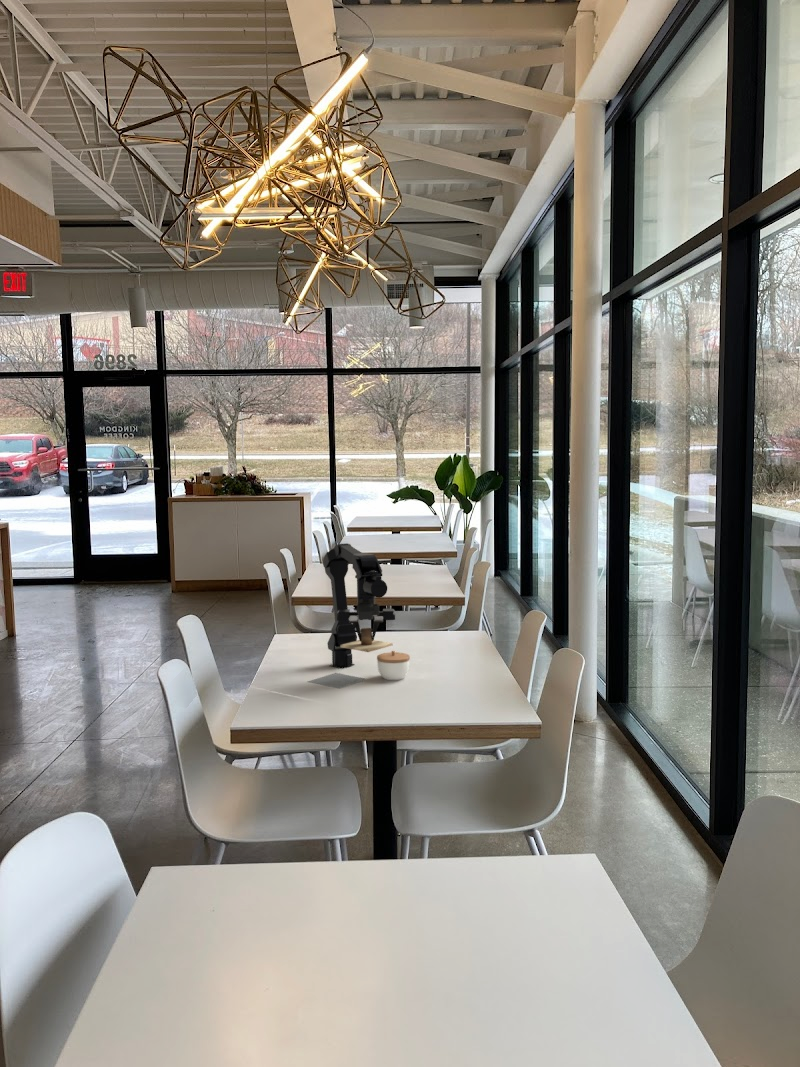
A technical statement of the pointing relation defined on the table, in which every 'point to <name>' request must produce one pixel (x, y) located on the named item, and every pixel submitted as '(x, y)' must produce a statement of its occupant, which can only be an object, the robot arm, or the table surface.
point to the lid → (366, 642)
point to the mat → (337, 680)
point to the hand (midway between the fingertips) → (366, 640)
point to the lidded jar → (393, 665)
